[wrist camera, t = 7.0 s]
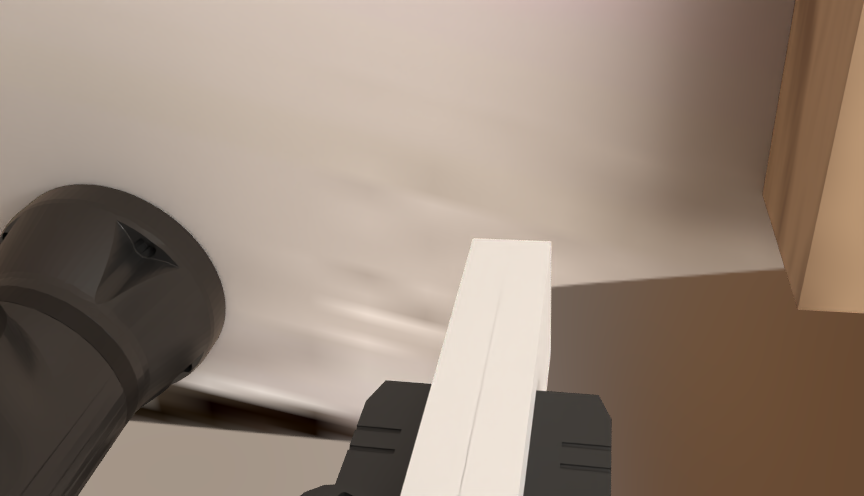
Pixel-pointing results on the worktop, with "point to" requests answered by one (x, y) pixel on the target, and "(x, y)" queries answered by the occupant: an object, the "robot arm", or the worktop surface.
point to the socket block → (821, 157)
